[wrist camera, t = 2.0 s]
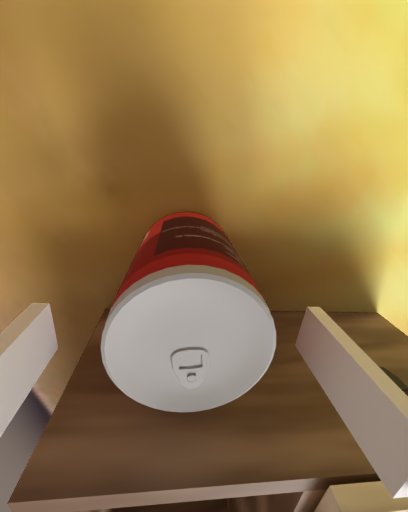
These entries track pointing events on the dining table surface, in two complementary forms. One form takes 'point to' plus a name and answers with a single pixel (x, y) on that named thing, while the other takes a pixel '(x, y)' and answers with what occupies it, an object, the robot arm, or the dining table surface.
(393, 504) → the lid
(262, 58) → the dining table surface
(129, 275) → the canned food
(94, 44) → the dining table surface
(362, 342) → the housing
